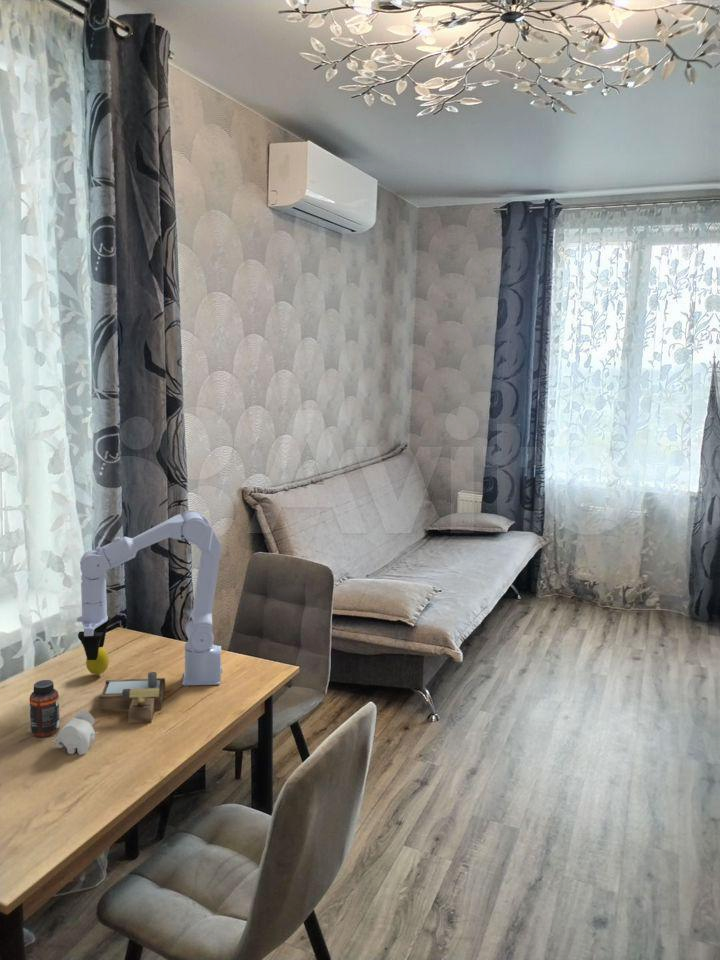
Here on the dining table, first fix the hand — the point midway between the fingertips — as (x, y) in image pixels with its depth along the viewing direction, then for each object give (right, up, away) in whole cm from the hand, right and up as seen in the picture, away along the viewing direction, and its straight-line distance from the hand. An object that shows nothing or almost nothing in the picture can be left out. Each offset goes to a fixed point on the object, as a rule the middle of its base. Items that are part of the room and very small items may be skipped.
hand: (95, 653), depth 181 cm
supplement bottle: (-5, -13, -18) cm, 23 cm away
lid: (+10, -8, -3) cm, 13 cm away
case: (+11, -12, -6) cm, 17 cm away
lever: (+15, -9, -11) cm, 21 cm away
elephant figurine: (+5, -15, -24) cm, 29 cm away
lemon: (-3, -8, +10) cm, 14 cm away
